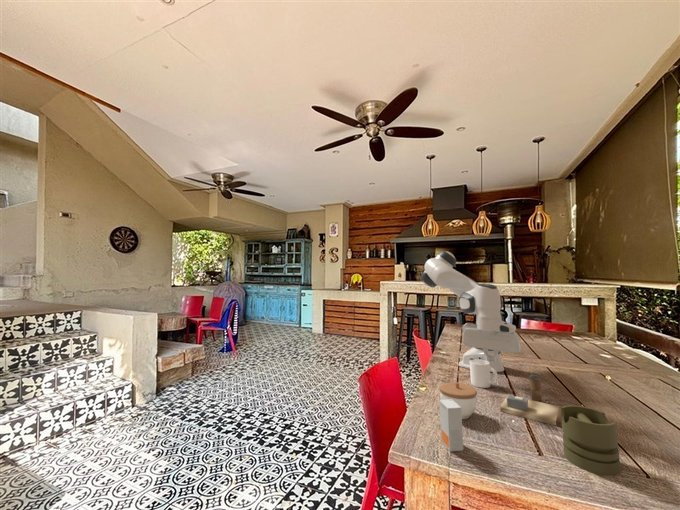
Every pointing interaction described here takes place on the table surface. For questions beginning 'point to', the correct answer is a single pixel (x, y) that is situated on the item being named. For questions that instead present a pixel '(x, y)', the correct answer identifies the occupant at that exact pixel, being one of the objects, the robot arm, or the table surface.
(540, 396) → the peg
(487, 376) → the mug
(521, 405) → the block
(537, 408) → the plank
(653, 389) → the table surface
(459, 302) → the robot arm
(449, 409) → the skincare box
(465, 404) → the lidded bowl
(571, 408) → the piston
